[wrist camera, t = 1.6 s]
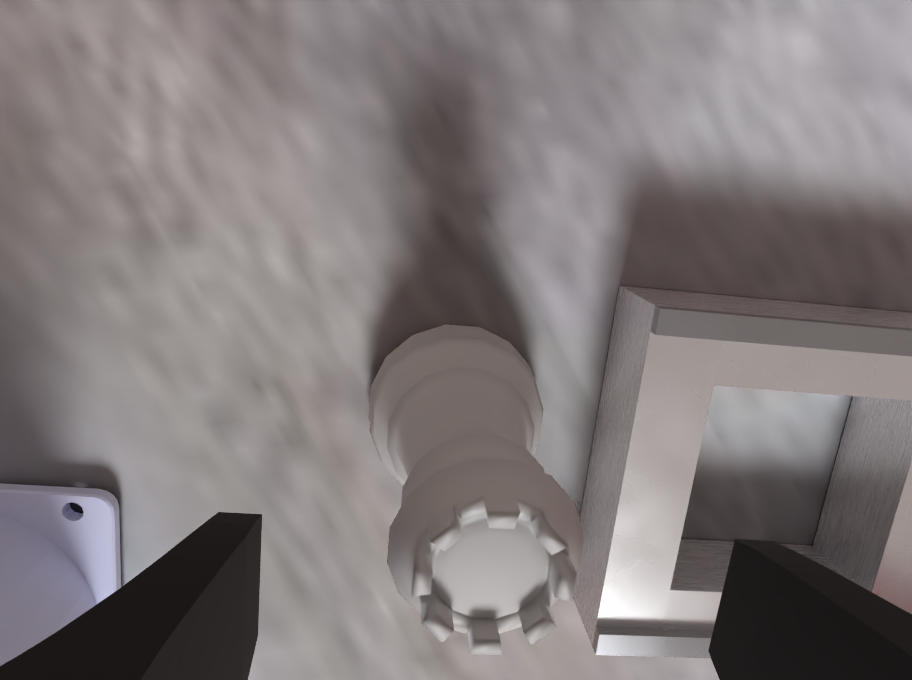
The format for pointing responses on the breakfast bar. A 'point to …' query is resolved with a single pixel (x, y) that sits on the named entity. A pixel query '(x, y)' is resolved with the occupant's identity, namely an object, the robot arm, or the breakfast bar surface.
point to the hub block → (678, 445)
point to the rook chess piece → (472, 488)
